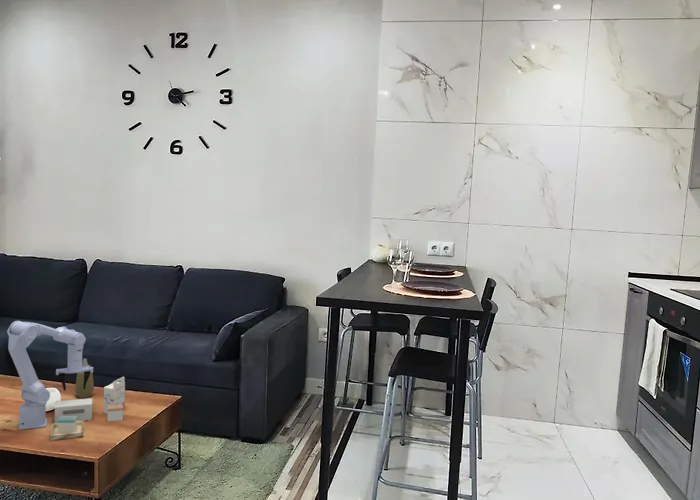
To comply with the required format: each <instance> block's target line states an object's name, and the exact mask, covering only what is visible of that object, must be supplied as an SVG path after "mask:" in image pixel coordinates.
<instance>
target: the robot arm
mask: <svg viewBox="0 0 700 500" xmlns="http://www.w3.org/2000/svg"><path fill="white" fill-rule="evenodd" d="M6 333H7V335H8V344H7V345H8V346H7V347H8V348H7V349H8V352H9V354H10V357H11V359H12V361H13V364H14V365H15V369H16V371H17V374H18V376H19V378H20V380H21V383H22V385H21V387H20V392H21V398H22V400H24V403H23V404H20V405H19V412H18V423H19V424H18V430H28V429H37V428H45V427H46V426H47V423H48V418H46V416H47V415H46V414H47V413H46V411H47V410H46V408H47V407H46V405H47V404H48V403H47V402H48V401H49V400H50V397H51V392H50V391H49V390H48V389H46V386H45V385H44V383H42V381H40V380H39V378H38V376H37V373H36V370H35V368H34V366H33V363H32V362H31V359H30V357H29V354H28V352H27V348H28V347H29V346H30V345H31V344H32V343H33V341H34V340H35V339H36V338H37V337H38V336H41V334H42V335H46V336H49V337H52V339H53V341H56V342H60V343H64V344H67V367H65V368H56V370H55V375H56V376H58V379H59V380H60V382H61V384H62V387H63V391H66V389H67V387H66V374H77V373H84V384H83V389H85V386H86V383H87V380H88V378H89V376H90V372H91V373H92V372H94V367H93V366H90V367H82V364H83V349H84V345H85V343H86V340H87V338H86V337H85V336H86V335H84V333H82V332H78V331H76V330H75V329H69V328H68V327H66V326H59V327H57V328H53V327H51V326H47V325H44V324H40V323H36V322H31V321H21V320H15V321H13V322H12V323H11V324H10V325H9V327H8V329H7V330H6Z"/></svg>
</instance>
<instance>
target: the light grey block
mask: <svg viewBox="0 0 700 500" xmlns="http://www.w3.org/2000/svg"><path fill="white" fill-rule="evenodd" d="M107 409H108V410H107V413H106V414H107V416H106V417H107V419H106V420H107V423H108V422H119V421H124V408H123V404H121V405H111V406H107Z"/></svg>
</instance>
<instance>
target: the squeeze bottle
mask: <svg viewBox="0 0 700 500" xmlns="http://www.w3.org/2000/svg"><path fill="white" fill-rule="evenodd" d="M82 367H91V365H90V364H89V363H88V359H87V358H83V359H82ZM93 372H94V371H93ZM93 372H92V373H91V372H90V376H89V378H88V380H87V383H86V386H85V389H83V384H84V373H76V378H75V380H76V381H75V385H74V386H75V388H74V392H75V393H76V396H77V398H78V399H79V398H80V399H88V398H89V397H90V398H91V397H92V395H93V392H94V390H95V385H94V374H93Z"/></svg>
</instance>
